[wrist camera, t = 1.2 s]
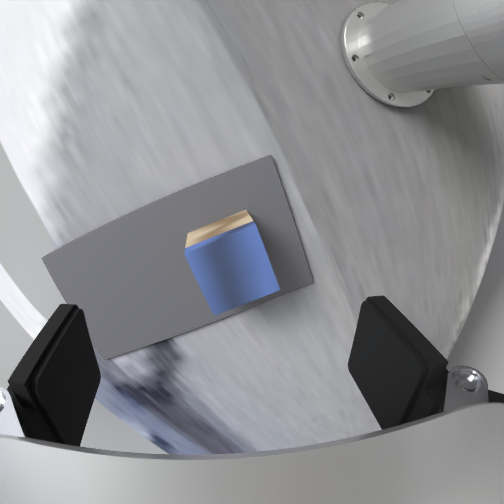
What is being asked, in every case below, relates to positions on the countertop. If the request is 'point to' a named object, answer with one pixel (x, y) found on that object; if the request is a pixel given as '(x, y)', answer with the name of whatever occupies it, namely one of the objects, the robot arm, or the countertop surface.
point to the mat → (172, 259)
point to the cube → (230, 262)
